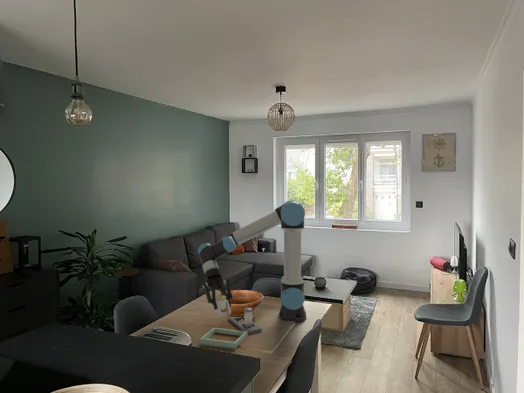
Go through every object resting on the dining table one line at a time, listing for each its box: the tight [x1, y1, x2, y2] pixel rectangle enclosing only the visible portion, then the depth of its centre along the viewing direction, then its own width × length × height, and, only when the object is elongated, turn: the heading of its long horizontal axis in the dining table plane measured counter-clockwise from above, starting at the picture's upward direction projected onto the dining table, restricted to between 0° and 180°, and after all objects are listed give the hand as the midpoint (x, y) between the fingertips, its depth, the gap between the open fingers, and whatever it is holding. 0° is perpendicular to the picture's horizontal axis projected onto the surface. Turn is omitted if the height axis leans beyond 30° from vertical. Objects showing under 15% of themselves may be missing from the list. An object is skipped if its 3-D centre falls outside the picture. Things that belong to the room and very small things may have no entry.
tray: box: [199, 327, 249, 351], centre depth 184 cm, size 18×14×3 cm
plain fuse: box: [243, 306, 253, 328], centre depth 196 cm, size 4×4×10 cm
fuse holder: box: [227, 315, 263, 335], centre depth 201 cm, size 24×8×2 cm, turn 27°
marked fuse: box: [216, 294, 228, 320], centre depth 184 cm, size 4×4×10 cm
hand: (224, 314), depth 180 cm, fingers closed on marked fuse, 4 cm apart
